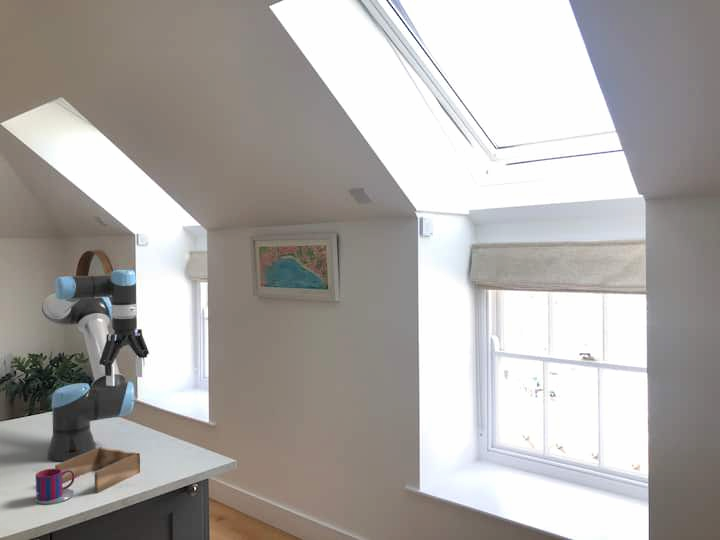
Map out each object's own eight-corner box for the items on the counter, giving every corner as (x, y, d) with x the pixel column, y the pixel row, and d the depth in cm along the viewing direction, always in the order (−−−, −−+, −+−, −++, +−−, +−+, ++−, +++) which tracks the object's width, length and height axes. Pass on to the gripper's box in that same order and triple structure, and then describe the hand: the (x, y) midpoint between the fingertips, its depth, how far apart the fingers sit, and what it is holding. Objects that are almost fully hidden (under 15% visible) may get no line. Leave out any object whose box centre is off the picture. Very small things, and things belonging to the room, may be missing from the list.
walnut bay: (55, 484, 192) (55, 465, 192) (99, 465, 208) (99, 447, 208) (98, 492, 186) (97, 472, 185) (140, 472, 202) (139, 453, 202)
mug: (35, 494, 183) (35, 471, 183) (73, 487, 188) (73, 464, 188) (37, 502, 177) (36, 478, 177) (76, 495, 182) (75, 472, 182)
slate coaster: (26, 501, 180) (26, 499, 180) (55, 488, 189) (55, 486, 189) (53, 506, 176) (53, 504, 176) (81, 493, 186) (81, 491, 185)
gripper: (105, 322, 197) (106, 390, 198) (158, 313, 220) (159, 374, 221) (86, 321, 200) (87, 388, 201) (141, 312, 223) (142, 372, 224)
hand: (125, 381), depth 211 cm, fingers open, 13 cm apart
